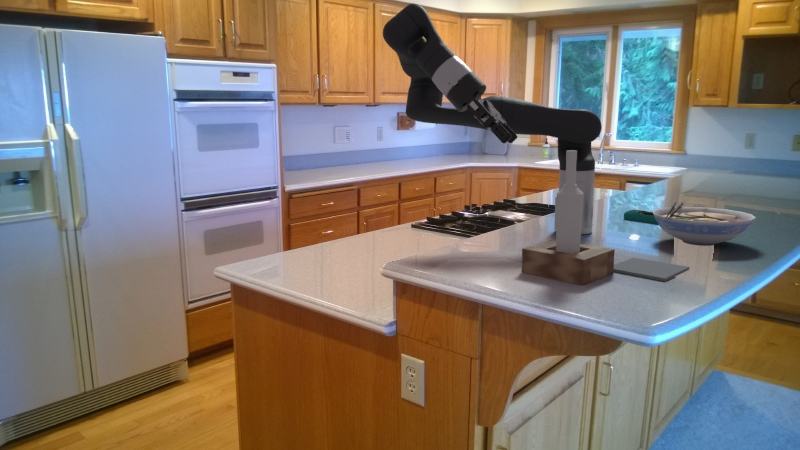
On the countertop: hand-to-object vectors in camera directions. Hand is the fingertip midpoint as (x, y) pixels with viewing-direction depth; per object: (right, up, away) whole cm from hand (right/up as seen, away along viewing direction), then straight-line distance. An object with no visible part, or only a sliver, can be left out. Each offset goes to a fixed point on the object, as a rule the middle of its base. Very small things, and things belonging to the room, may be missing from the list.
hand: (511, 140), depth 119 cm
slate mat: (+29, -27, +2) cm, 39 cm away
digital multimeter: (+53, -17, +57) cm, 79 cm away
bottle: (+12, -27, +1) cm, 30 cm away
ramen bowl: (+52, -22, +26) cm, 62 cm away
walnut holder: (+12, -27, +1) cm, 30 cm away
